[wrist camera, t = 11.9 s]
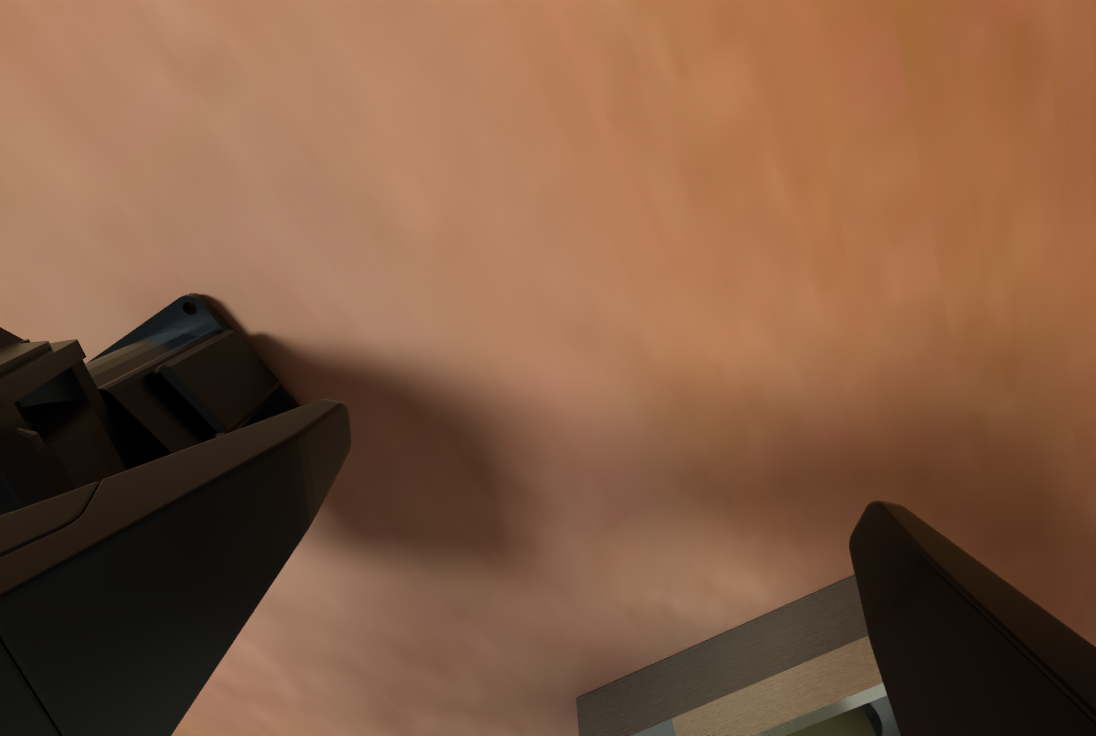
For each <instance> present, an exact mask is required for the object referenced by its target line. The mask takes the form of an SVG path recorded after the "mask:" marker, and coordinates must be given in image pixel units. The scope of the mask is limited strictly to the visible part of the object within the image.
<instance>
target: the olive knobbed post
mask: <svg viewBox="0 0 1096 736" xmlns="http://www.w3.org/2000/svg"><path fill="white" fill-rule="evenodd" d="M786 736H876V734H875V731H874V729H873V727H872V725H871V723H870V721H869V719H868V718H867V716H866V715H865V713H864V711H862V710H861V709H859V708H858V707H856V708H854V709H851V710H849V711H846V712H844V713H841V714H839V715H836V716H834V717H831V718H829V719H826V720H824V721H821V722H819V723H816V724H814V725H811V726H809V727H806V728H803V729H801V730H798V731H796V732H793V733H791V734H788V735H786Z"/></svg>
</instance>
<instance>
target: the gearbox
mask: <svg viewBox="0 0 1096 736" xmlns="http://www.w3.org/2000/svg"><path fill="white" fill-rule="evenodd" d="M856 707H858V708H859V709H861V710H862V711H864V713H865V715H866V716H867V718H868V719H869V721H870V723H871V725H872V727H873V729H874V731H875V734H876V736H900V733H899V730H898V727H897V724H896V721H895V718H894V715H893V712H892V709H891V706H890V703H889V700H888V696H887V693H886V690H885V687H884V684H883V681H882V678H881V675H880V672H879V669H878V666H877V663H876V660H875V657H874V654H873V650H872V647H871V644H870V640H869V637H868V633H867V629H866V625H865V620H864V616H863V611H862V606H861V602H860V597H859V592H858V587H857V583H856V578H855V575H853V576H851V577H849V578H847V579H844V580H842V581H840V582H838V583H835V584H833V585H831V586H829V587H826V588H824V589H822V590H820V591H817V592H815V593H813V594H811V595H808V596H806V597H804V598H802V599H799V600H797V601H795V602H793V603H790V604H788V605H786V606H784V607H781V608H779V609H777V610H775V611H772V612H770V613H768V614H766V615H763V616H761V617H759V618H757V619H754V620H752V621H750V622H748V623H745V624H743V625H741V626H739V627H736V628H734V629H732V630H730V631H727V632H725V633H723V634H721V635H718V636H716V637H714V638H712V639H709V640H707V641H705V642H703V643H700V644H698V645H696V646H694V647H691V648H689V649H687V650H685V651H682V652H680V653H678V654H676V655H673V656H671V657H669V658H667V659H664V660H662V661H660V662H658V663H655V664H653V665H651V666H649V667H646V668H644V669H642V670H640V671H637V672H635V673H633V674H631V675H628V676H626V677H624V678H622V679H619V680H617V681H615V682H613V683H610V684H608V685H606V686H604V687H601V688H599V689H597V690H595V691H592V692H590V693H588V694H586V695H583V696H581V697H579V698H577V711H578V724H579V736H786V735H788V734H791V733H793V732H796V731H798V730H801V729H803V728H806V727H809V726H811V725H814V724H816V723H819V722H821V721H824V720H826V719H829V718H831V717H834V716H836V715H839V714H841V713H844V712H846V711H849V710H851V709H854V708H856Z"/></svg>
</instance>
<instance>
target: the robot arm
mask: <svg viewBox="0 0 1096 736" xmlns="http://www.w3.org/2000/svg"><path fill="white" fill-rule="evenodd" d="M189 303H193V304H194V305H195V306H196V308H197V312H194V311H193V310H191V308H190V306H189ZM84 358H86V355H85V354H84V352H83V350H82V348H81V346H80V344H79V342H78V340H77V339H74V340H68V341H61V342H55V343H49V341H41V342H30V341H29V339H27V340H23V339H21V338H19V337H17V336H16V335H14V334H12V333H10V332H8V331H6V330H4V329H2V328H0V736H171V735H172V733H173V732H174V730H175V729H176V727H177V726H178V724H179V723H180V721H181V720H182V718H183V717H184V715H185V714H186V712H187V711H188V709H189V708H190V706H191V705H192V703H193V702H194V700H195V699H196V697H197V696H198V694H199V693H200V691H201V690H202V688H203V687H204V685H205V684H206V682H207V681H208V679H209V678H210V676H211V675H212V673H213V672H214V670H215V669H216V667H217V666H218V664H219V663H220V661H221V660H222V658H223V657H224V655H225V654H226V652H227V651H228V649H229V648H230V646H231V645H232V643H233V642H234V640H235V639H236V637H237V636H238V634H239V633H240V631H241V630H242V628H243V627H244V625H245V624H246V622H247V621H248V619H249V618H250V616H251V615H252V613H253V612H254V610H255V609H256V607H257V606H258V604H259V603H260V601H261V600H262V598H263V597H264V595H265V594H266V592H267V591H268V589H269V588H270V586H271V585H272V583H273V582H274V580H275V579H276V577H277V576H278V574H279V573H280V571H281V570H282V568H283V567H284V565H285V563H286V562H287V560H288V559H289V557H290V556H291V554H292V553H293V551H294V550H295V548H296V547H297V545H298V544H299V542H300V541H301V539H302V538H303V536H304V535H305V533H306V532H307V530H308V528H309V527H310V525H311V524H312V522H313V520H314V518H315V516H316V515H317V513H318V511H319V509H320V507H321V505H322V503H323V501H324V499H325V497H326V495H327V493H328V491H329V489H330V488H331V486H332V484H333V482H334V480H335V478H336V476H337V474H338V472H339V470H340V468H341V466H342V464H343V462H344V460H345V458H346V457H347V455H348V452H349V449H350V445H351V433H350V421H349V411H348V407H347V405H346V404H345V403H344V402H340V401H335V400H330V399H320V400H317V401H315V402H312V403H309V404H306V405H304V406H301V407H300V406H299V404H298V403H297V402H296V401H295V400H294V399H293V398H292V397H291V395H290V394H289V393H288V392H287V391H286V390H285V389H284V387H283V386H282V385H281V384H280V383H279V380H278V378H277V377H276V376H275V375H274V374H273V373H272V371H271V370H270V369H269V368H268V367H267V366H266V365H265V364H264V362H263V361H262V360H261V359H260V358H259V357H258V356H257V354H256V353H255V352H254V351H253V350H252V349H251V348H250V346H249V345H248V344H247V343H246V342H245V341H244V340H243V338H242V337H241V336H240V335H239V334H238V333H237V332H235V331H233V330H232V328H231V327H230V326H229V325H228V324H227V323H226V322H225V320H224V319H223V318H222V317H221V316H220V315H219V314H218V312H217V311H216V310H215V309H214V308H213V307H212V306H211V305H210V303H209V302H208V301H207V300H206V299H205V298H204V297H203V296H201V295H199V294H196V293H190V294H188V295H185V296H182V297H180V298H178V299H177V300H176V301H174V302H173V303H171V304H170V305H168V306H167V307H166V308H164V309H163V310H161V311H160V312H159V313H157V314H156V315H154V316H153V317H151V318H150V319H149V320H147V321H146V322H144V323H143V324H142V325H140V326H139V327H137V328H136V329H134V330H133V331H132V332H130V333H129V334H127V335H126V336H125V337H123V338H122V339H120V340H119V341H117V342H116V343H115V344H113V345H112V346H110V347H109V348H108V349H106V350H105V351H103V352H102V353H101V354H99V355H98V356H96V357H95V358H93V359H92V360H91V361H89V362H88V363H86V364H85V363H84V362H83V360H82V359H84ZM849 549H850V555H851V559H852V564H853V569H854V573H855V578H856V583H857V587H858V592H859V597H860V602H861V606H862V611H863V616H864V620H865V625H866V629H867V633H868V637H869V640H870V644H871V647H872V650H873V654H874V657H875V660H876V663H877V666H878V669H879V672H880V675H881V678H882V681H883V684H884V687H885V690H886V693H887V696H888V700H889V703H890V706H891V709H892V712H893V715H894V718H895V721H896V724H897V727H898V730H899V733H900V736H1096V647H1095V646H1094V645H1092V644H1091V643H1089V642H1088V641H1087V640H1085V639H1084V638H1083V637H1081V636H1080V635H1078V634H1077V633H1076V632H1074V631H1073V630H1072V629H1070V628H1069V627H1068V626H1066V625H1065V624H1063V623H1062V622H1061V621H1059V620H1058V619H1057V618H1055V617H1054V616H1052V615H1051V614H1050V613H1048V612H1047V611H1046V610H1044V609H1043V608H1042V607H1040V606H1039V605H1037V604H1036V603H1035V602H1033V601H1032V600H1031V599H1029V598H1028V597H1026V596H1025V595H1024V594H1022V593H1021V592H1020V591H1018V590H1017V589H1016V588H1014V587H1013V586H1011V585H1010V584H1009V583H1007V582H1006V581H1005V580H1003V579H1002V578H1000V577H999V576H998V575H996V574H995V573H994V572H992V571H991V570H990V569H988V568H987V567H985V566H984V565H983V564H981V563H980V562H979V561H977V560H976V559H974V558H973V557H972V556H970V555H969V554H968V553H966V552H965V551H963V550H962V549H961V548H959V547H958V546H957V545H955V544H954V543H953V542H951V541H950V540H948V539H947V538H946V537H944V536H943V535H942V534H940V533H939V532H937V531H936V530H935V529H933V528H932V527H931V526H929V525H928V524H927V523H925V522H924V521H922V520H921V519H920V518H918V517H917V516H916V515H914V514H913V513H911V512H910V511H909V510H907V509H906V508H905V507H903V506H901V505H899V504H894V503H889V502H884V501H878V500H876V501H872V502H870V503H869V504H868V505H867V507H866V509H865V510H864V512H863V514H862V516H861V518H860V520H859V521H858V523H857V525H856V527H855V529H854V531H853V532H852V534H851V537H850V542H849Z"/></svg>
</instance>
